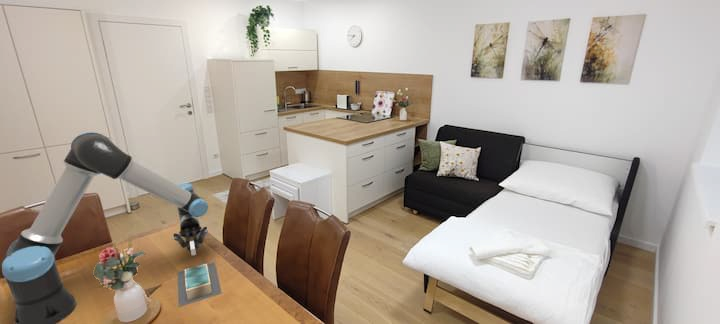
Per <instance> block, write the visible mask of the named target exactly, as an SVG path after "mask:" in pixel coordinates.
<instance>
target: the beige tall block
mask: <svg viewBox="0 0 720 324" xmlns="http://www.w3.org/2000/svg"><path fill="white" fill-rule="evenodd" d="M207 264H208V263H203V264H200V265H196V266H193V267H189V268H186V269H184V270H185V284H186V294H187V299H188V300H190V299H194V298H197V297H200V296H203V295H206V294H210V293H212V289H211V283H210V278H209V272H208V267H207Z"/></svg>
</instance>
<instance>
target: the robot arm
mask: <svg viewBox="0 0 720 324" xmlns="http://www.w3.org/2000/svg"><path fill="white" fill-rule="evenodd" d="M63 164H64V165H65V169H63V172H62V174H61V175H60V177H59V179H58V181H56V184H55V185H54V187H53V189H52V191H51V192H50V194H49V196H48V198H47V199H46V200H45V202H44V204H43V206H42V207H41V209H40V211H39V213H38V215H37V216H36V217H35V220H34V221H33V223H32V224H31V226H30V228H27V229H24V230H22V231H21V232H20V234H19V236H18V238H17V239H16V240H15V241H13V242H12V243H11V245H10V246H9V247H8V250H7V251H6V258H4V260H2V264H1V273H2V275H3V277H4V278H5V281H6V283H7V285H8V287H9V290H10V292H11V295H12V298H13V300H14V303H15V310H14V313H15V314H14V324H56V323H58V322H60V321H62V320H63V319H65V318H67V316H69V315H70V314H71V313H72V312H74V309H75V308H76V306H77V301H76V299H75V296H74V295H73V294H71V293H70V292H69V290H68V289H67V288H65V287H64V285H63V281H62V279H61V275H60V273H59V270H58V269H59V268H58V267H57V262H56V257H55V255H56V254H57V252H58V251H59V248H60V246H61V245H62V243H63V241H64V239H63V237H62V233H63V231H64V230H65V228H66V226H67V224H68V223H69V220H70V219H71V217H72V216H73V214H74V212H75V210H76V208H77V207H78V205H79V203H80V201H81V200H82V198H83V196H84V195H85V193H86V191H87V189H88V188H89V186H90V184H91V182H92V181H93V179H94V177H96V176H99V175H104V176H107V177H109V178H110V179H112V180H117V179H120V180H121V181H123V182H125V183H127V184H130V185H131V186H134V187H136V188H139V189H140V190H142V191H144V192H146V193H148V194H150V195H152V196H155V197H156V198H159V199H161V200H163V201H165V202H167V203H169V204H170V205H173V206H175V207H177V211H178V217H179V227H180V229H179V232H178V233H173V239H174V241H176V242H177V243H178V244H179V245H180V247H181V248H182V249H187V251H188V252H189V251H190V253H191V254H190V255H191V256H192V257H193V256H196V255H197V251H196V249H199V245H202V244H203V243H204V241H205V236H206V235H207V233H208V227H207V226H204V227H201V226H200V225H201V224H200V221H199V218H200V217H202V216H204V215H206V213H207V212H208V210H209V205H208V204H209V203H207V202H206V200H205V198H204V199H203V198H202V197H200V196H199V195H198V194H197V193H195V191H194V187H193V184H192V183H188V182H187V183H180V184H177V183H175V182H173V181H170V180H169V179H168V178H165V177H163V176H162V175H160V174H158V173H156V172H154V171H152V170H151V169H149V168H147V167H145V166H144V165H141V164H139V163H138V162H136V161H134V159H133V157H132V156H131V155H129V154H127V153H126V152H124V151H123V150H122V149H120V148H119V147H118V146H117V145H116V144H114V142H113V141H111V139H110V138H109V137H107V136H106V135H103V134H102V133H98V132H94V131H88V132H83V133H81V134H78V135H77V136H76V137H75V138H74V139H72V141H71V143H70V149H69V152H68V153H67V155H66V157H65V159H63ZM198 235H199V236H198ZM197 236H198V237H197ZM183 238H185V240H184V239H183ZM191 238H193V240H191Z"/></svg>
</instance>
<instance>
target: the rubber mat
mask: <svg viewBox="0 0 720 324" xmlns="http://www.w3.org/2000/svg"><path fill="white" fill-rule="evenodd" d="M206 264H207V267H208V272H209V278H210V283H211V289H212V293H210V294H206V295H203V296H200V297H197V298H194V299H190V300H188V299H187V294H186V284H185V269H184V270H181V271H177V275H176V276H177V299H178V300H177V301H178V302H177V303H178V308H180V307H181V308H182V307H185V306H187V305H189V304H193V303H196V302H199V301H203V300H205V299H209V298H211V297H215V296H219V295H221V294H222V293H223V292H222V289H221V285H220V280H219V275H218V271H217V266H216V262H215V261H214V262H211V263H206Z"/></svg>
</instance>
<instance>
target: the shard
mask: <svg viewBox="0 0 720 324" xmlns="http://www.w3.org/2000/svg"><path fill="white" fill-rule="evenodd" d="M162 286H163V284H162V283H161V284H159V285H155V286H152V287H148V288H145V289H143V290H144V291H145V293H146V295H147V297H148V298H149V297H151V296H152V295H153V294H155V292H156V291H157V290H158V289H159V288H160V287H162Z"/></svg>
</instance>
